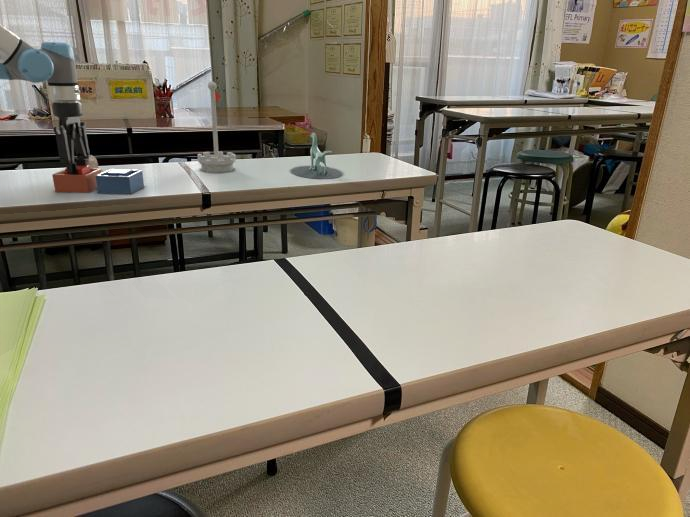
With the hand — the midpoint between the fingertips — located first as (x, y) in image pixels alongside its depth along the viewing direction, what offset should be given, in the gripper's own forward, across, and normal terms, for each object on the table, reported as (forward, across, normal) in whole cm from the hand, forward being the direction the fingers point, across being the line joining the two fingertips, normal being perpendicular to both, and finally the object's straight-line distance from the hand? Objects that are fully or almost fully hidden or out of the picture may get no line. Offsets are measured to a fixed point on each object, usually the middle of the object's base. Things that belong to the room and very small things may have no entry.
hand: (79, 182), depth 153 cm
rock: (+2, +14, +3) cm, 14 cm away
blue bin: (+2, 0, -12) cm, 13 cm away
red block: (0, 0, 0) cm, 0 cm away
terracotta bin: (+2, 0, 0) cm, 2 cm away
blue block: (+1, 0, -13) cm, 13 cm away
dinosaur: (+2, +34, -68) cm, 76 cm away
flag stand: (+2, +34, -32) cm, 47 cm away
